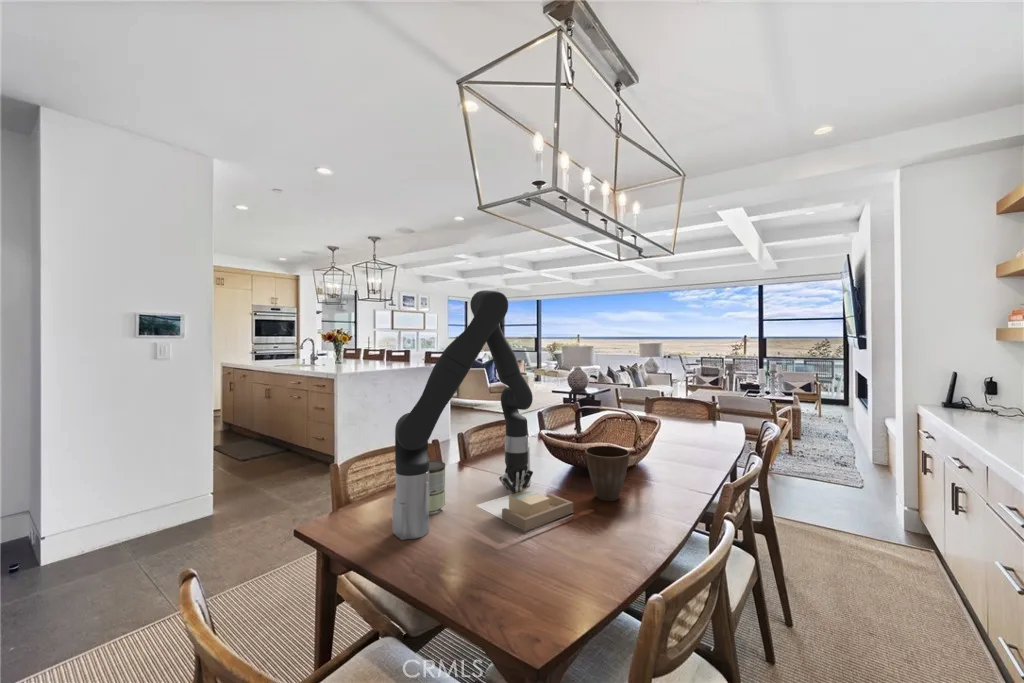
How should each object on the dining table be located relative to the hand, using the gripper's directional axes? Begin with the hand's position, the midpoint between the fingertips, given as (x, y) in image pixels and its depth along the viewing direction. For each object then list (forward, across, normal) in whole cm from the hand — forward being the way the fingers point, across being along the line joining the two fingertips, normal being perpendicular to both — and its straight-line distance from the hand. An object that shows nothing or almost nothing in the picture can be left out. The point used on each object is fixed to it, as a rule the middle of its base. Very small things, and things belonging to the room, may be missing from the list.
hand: (516, 502), depth 134 cm
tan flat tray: (+2, 0, -3) cm, 4 cm away
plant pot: (+2, +31, -13) cm, 33 cm away
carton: (+1, 0, -6) cm, 6 cm away
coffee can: (+2, -21, +19) cm, 28 cm away
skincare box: (+2, +15, +16) cm, 22 cm away
